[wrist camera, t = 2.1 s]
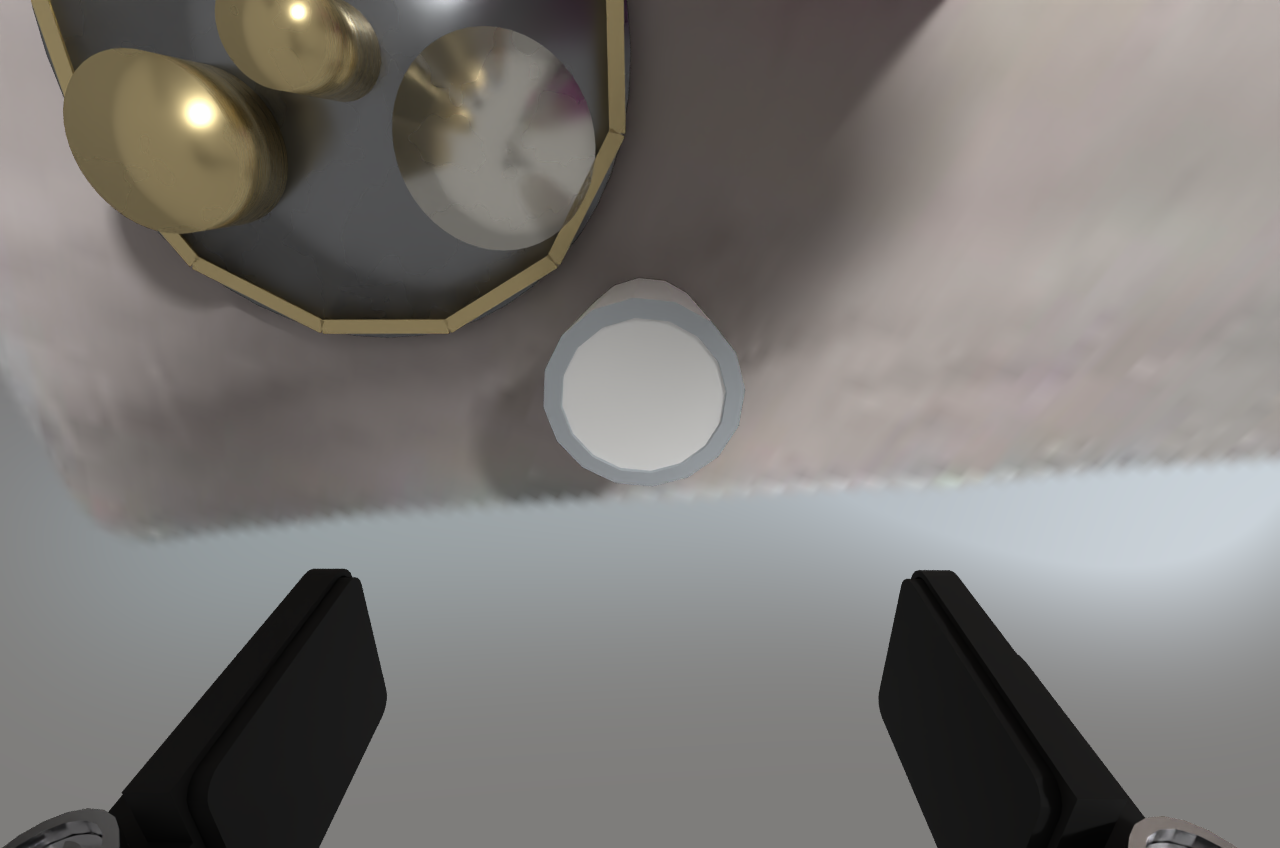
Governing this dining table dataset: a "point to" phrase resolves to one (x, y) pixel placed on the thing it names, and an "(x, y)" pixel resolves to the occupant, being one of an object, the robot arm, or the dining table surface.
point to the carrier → (350, 143)
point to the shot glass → (643, 386)
